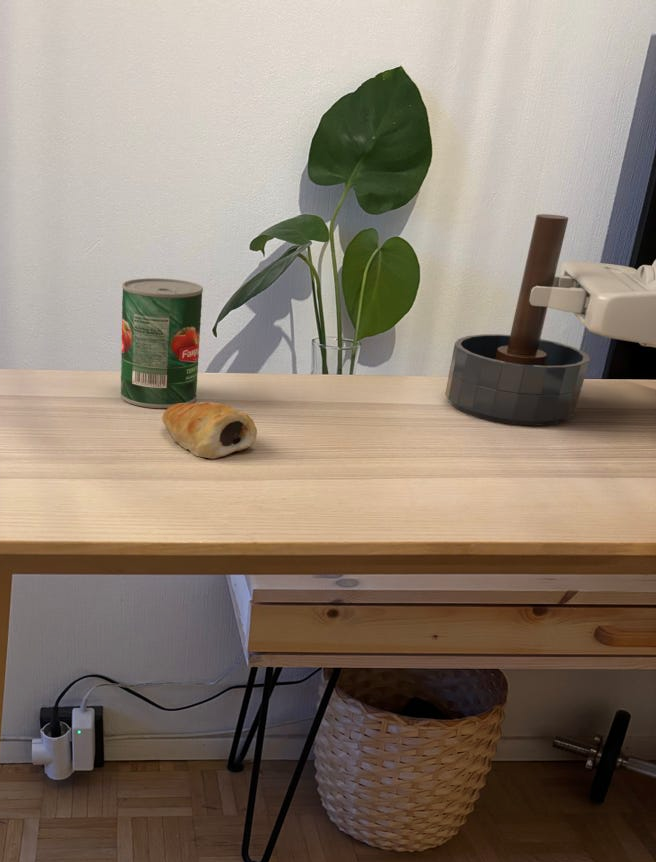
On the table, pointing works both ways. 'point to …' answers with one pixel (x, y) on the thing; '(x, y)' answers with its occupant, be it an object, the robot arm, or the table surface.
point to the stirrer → (536, 272)
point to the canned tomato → (160, 341)
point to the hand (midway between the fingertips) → (526, 290)
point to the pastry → (209, 428)
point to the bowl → (515, 382)
